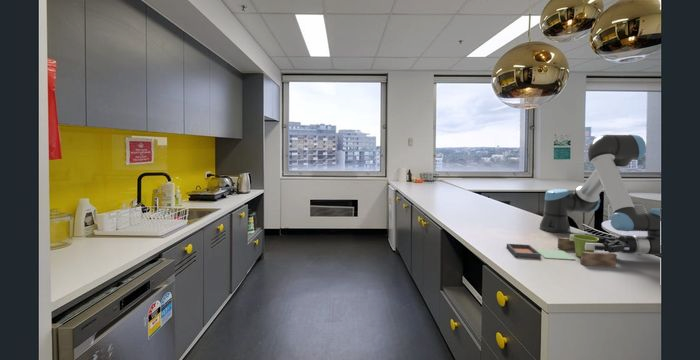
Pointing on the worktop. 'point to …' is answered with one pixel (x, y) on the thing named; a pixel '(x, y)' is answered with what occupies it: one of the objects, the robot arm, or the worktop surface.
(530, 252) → the tray
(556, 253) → the pad
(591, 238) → the plant pot
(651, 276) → the worktop surface
